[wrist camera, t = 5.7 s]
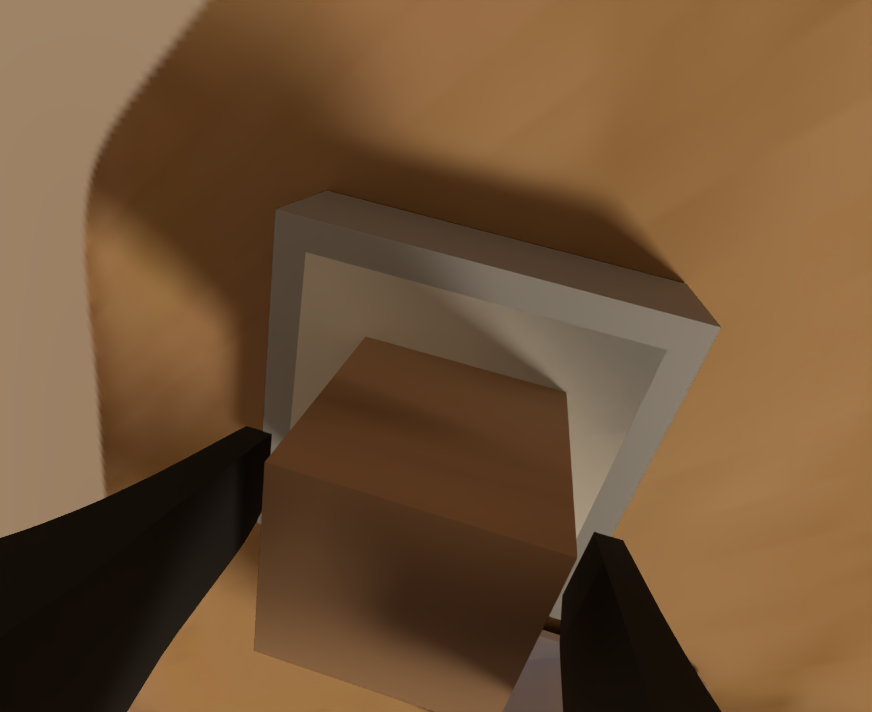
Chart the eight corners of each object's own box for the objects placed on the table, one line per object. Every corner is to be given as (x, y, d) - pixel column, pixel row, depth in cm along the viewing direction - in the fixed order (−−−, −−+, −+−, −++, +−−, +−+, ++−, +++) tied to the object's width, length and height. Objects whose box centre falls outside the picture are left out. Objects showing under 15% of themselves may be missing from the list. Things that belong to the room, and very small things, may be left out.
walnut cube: (509, 539, 14) (492, 731, 10) (342, 487, 15) (253, 650, 10) (566, 392, 12) (577, 557, 8) (365, 336, 12) (264, 462, 8)
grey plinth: (563, 546, 18) (566, 622, 15) (298, 464, 19) (257, 523, 16) (686, 283, 13) (720, 327, 11) (326, 190, 14) (275, 209, 11)
